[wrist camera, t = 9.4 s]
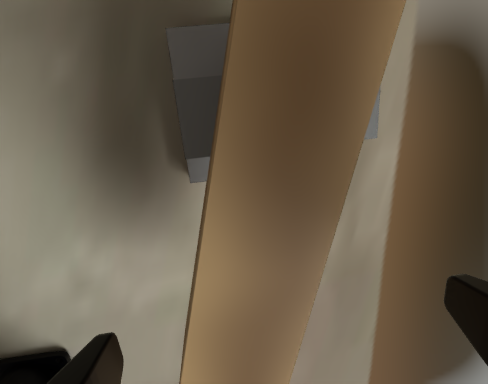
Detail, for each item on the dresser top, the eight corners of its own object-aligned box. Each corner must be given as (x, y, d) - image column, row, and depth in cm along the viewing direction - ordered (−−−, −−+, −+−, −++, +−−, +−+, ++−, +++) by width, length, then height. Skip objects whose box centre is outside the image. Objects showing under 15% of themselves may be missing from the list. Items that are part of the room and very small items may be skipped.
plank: (184, 330, 15) (176, 413, 11) (279, -321, 8) (340, -684, 4) (262, 335, 15) (279, 415, 12) (413, -265, 9) (570, -538, 5)
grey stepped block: (191, 177, 18) (182, 217, 13) (168, 32, 16) (144, 2, 10) (333, 160, 19) (384, 192, 13) (335, 18, 16) (400, -17, 11)
